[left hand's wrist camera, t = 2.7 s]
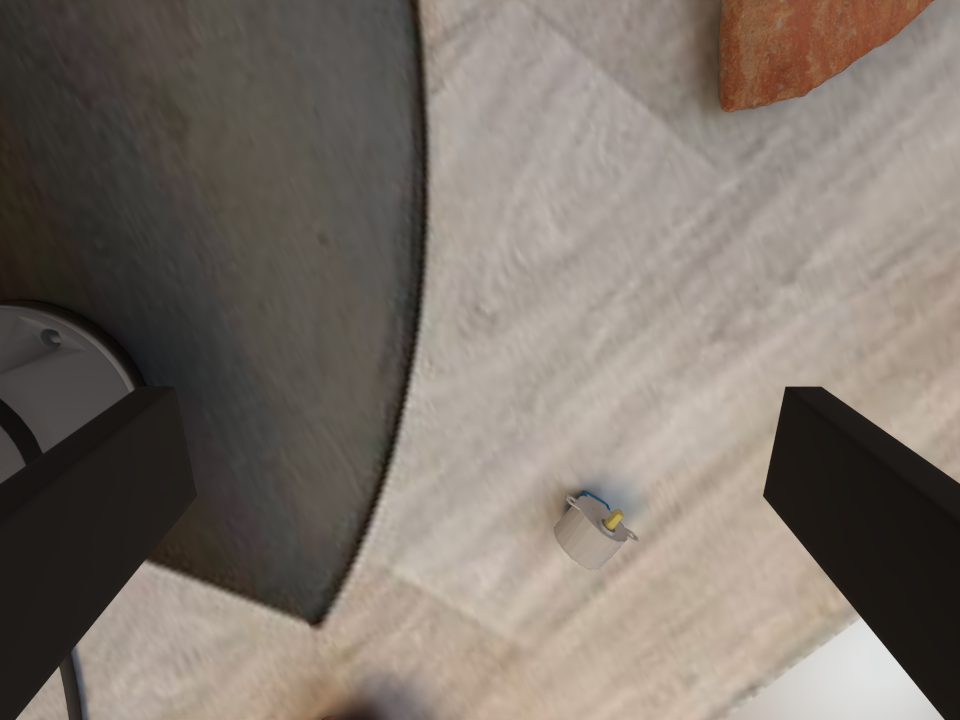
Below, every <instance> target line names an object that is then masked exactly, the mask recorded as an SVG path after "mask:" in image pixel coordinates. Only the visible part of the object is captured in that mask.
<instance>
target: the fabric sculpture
mask: <svg viewBox="0 0 960 720" xmlns="http://www.w3.org/2000/svg"><path fill="white" fill-rule="evenodd" d="M322 720H335V719H334V718H333V717H331V716H329V717H326V718H324V719H322Z"/></svg>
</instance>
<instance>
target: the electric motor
mask: <svg viewBox="0 0 960 720" xmlns="http://www.w3.org/2000/svg"><path fill="white" fill-rule="evenodd" d="M565 498H566V500H567V502H568V503H569V504H570V505H572V506H571V508H570V509H569V510H568V511H567V512H566V514H565V515H564V516H563V517H562V518H561V520H560V521H559V522H558V523H557V524H556V526H555V527H554V533H555V536H556V539H557V541H558V543H559V544H560V546H561V547H562V549H563V550H564V551H565V552H566V553H567V554H568V555H569V556H570V557H571V558H572V559H573V560H574V561H576V562H577V563H578V564H579V565H581V566H583V567H585V568H587V569H590V570H599V569H601V567H602V566H603V565H604V564H605V563H606V562H607V561H608V560H609V559H610V558H611V557H612V556H613V554H614V553H615V552H616V551H617V550H618V549H619V548H620V547H621V546H622V545H623V544H624V542H625V541H626V540H627V538H628V539H629V540H631V541H633V542H638V537H637V536H636V535H635V534H634V533H633V532H632V531H630V530H628V529H626V528H625V527H623V525H622V523H621V522H620V520H621V519H622V518H623V517H624V516H623V514H622V512H621V511H620V510H619V509H616V510H615V511H614V512H613V513H612V512H611V511H610V508H609V506H608V504H607V503H605V502H603V501H602V500H600V499H598V498H597V497H595V496H593V495H592V494H590V493H588V492H587V491H585V492H584V493H583V494H582V495H581V496H580V497H579V498H578V499H575V498H574V497H572V496H570V495H566V497H565ZM570 499H572V500H573V501H574V503H573V502H572V501H571V500H570ZM630 534H631V535H632V536H633V537H634V538H632V537H631V535H630Z"/></svg>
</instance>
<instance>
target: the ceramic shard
mask: <svg viewBox="0 0 960 720" xmlns="http://www.w3.org/2000/svg"><path fill="white" fill-rule="evenodd" d="M932 1H934V0H722V2H721V21H720V27H719V95H718V97H719V102H720V106H721V108H722V110H723V111H724V112H734V111H736V110H744V109H748V108H749V109H755V108H757V107H760V106H767V105H769V104H771V103H774V102H777V101H781V100H786V99H790V98H794V97H802V96H805V95H806V94H807V93H808V92H809V91H810V90H812V89H813V88H816V87H818V86H819V85H821V84H822V83H823V82H825V81H827V80H828V79H830V78H832V77H833V76H835V75H837V74H839V73H840V72H842V71H844V70H845V69H846V68H847V67H848V66H850V65H851V64H852V63H853V62H854V61H856V60H857V59H858V58H860V57H862V56H864V55H865V54H867V53H868V52H869V51H871V50H872V49H873V48H876V47H878V46H881V45H882V44H884V43H886V42H887V41H889V40H890V39H891V38H893V37H894V36H895V35H896V34H898V33H899V32H900V31H901V30H902V29H903V28H904V27H905V26H906V25H907V24H909V23H910V22H911V21H912V20H913V19H914V18H915V17H917V16H918V15H919V14H920V13H921V12H922V11H923V10H924V9H925V8H926V7H927V6H928V5H929V4H930V3H931V2H932Z"/></svg>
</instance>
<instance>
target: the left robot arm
mask: <svg viewBox="0 0 960 720" xmlns="http://www.w3.org/2000/svg"><path fill="white" fill-rule="evenodd" d="M196 497H197V494H196V489H195V484H194V479H193V474H192V469H191V465H190V460H189V455H188V450H187V445H186V440H185V436H184V431H183V426H182V421H181V416H180V411H179V406H178V402H177V397H176V392H175V387H138V388H136V389H135V390H133V391H132V392H130V393H129V394H128V395H126V396H125V397H123V398H122V399H120V400H119V401H118V402H116V403H115V404H113V405H112V406H110V407H109V408H108V409H106V410H105V411H103V412H102V413H100V414H99V415H98V416H96V417H95V418H93V419H92V420H90V421H89V422H88V423H86V424H85V425H83V426H82V427H81V428H79V429H78V430H76V431H75V432H73V433H72V434H71V435H69V436H68V437H66V438H65V439H63V440H62V441H61V442H59V443H58V444H56V445H55V446H53V447H52V448H51V449H49V450H48V451H46V452H45V453H43V454H42V455H41V456H39V457H38V458H36V459H35V460H33V461H32V462H31V463H29V464H28V465H26V466H25V467H23V468H22V469H21V470H19V471H18V472H16V473H15V474H13V475H12V476H11V477H9V478H8V479H6V480H5V481H3V482H2V483H1V484H0V720H15V719H16V718H17V717H18V716H19V715H20V713H21V712H22V711H23V710H24V708H25V707H26V706H27V705H28V703H29V702H30V701H31V700H32V699H33V697H34V696H35V695H36V694H37V692H38V691H39V690H40V689H41V687H42V686H43V685H44V684H45V683H46V681H47V680H48V679H49V678H50V676H51V675H52V674H53V673H54V671H55V670H56V669H57V668H58V667H59V665H60V664H61V663H62V662H63V660H64V659H65V658H66V657H67V655H68V654H69V653H70V652H71V651H72V649H73V648H74V647H75V646H76V644H77V643H78V642H79V641H80V639H81V638H82V637H83V636H84V635H85V633H86V632H87V631H88V630H89V628H90V627H91V626H92V625H93V623H94V622H95V621H96V620H97V619H98V617H99V616H100V615H101V614H102V612H103V611H104V610H105V609H106V607H107V606H108V605H109V604H110V603H111V601H112V600H113V599H114V598H115V596H116V595H117V594H118V593H119V591H120V590H121V589H122V588H123V586H124V585H125V584H126V583H127V582H128V580H129V579H130V578H131V577H132V575H133V574H134V573H135V572H136V570H137V569H138V568H139V567H140V566H141V564H142V563H143V562H144V561H145V559H146V558H147V557H148V556H149V554H150V553H151V552H152V551H153V550H154V548H155V547H156V546H157V545H158V543H159V542H160V541H161V540H162V538H163V537H164V536H165V535H166V534H167V532H168V531H169V530H170V529H171V527H172V526H173V525H174V524H175V522H176V521H177V520H178V519H179V518H180V516H181V515H182V514H183V513H184V511H185V510H186V509H187V508H188V506H189V505H190V504H191V503H192V502H193V500H194V499H195V498H196ZM763 497H764V498H765V499H766V500H767V502H768V503H769V504H770V505H771V506H772V508H773V509H774V510H775V511H776V513H777V514H778V515H779V516H780V518H781V519H782V520H783V521H784V522H785V524H786V525H787V526H788V527H789V529H790V530H791V531H792V532H793V534H794V535H795V536H796V537H797V538H798V540H799V541H800V542H801V543H802V545H803V546H804V547H805V548H806V550H807V551H808V552H809V553H810V554H811V556H812V557H813V558H814V559H815V561H816V562H817V563H818V564H819V566H820V567H821V568H822V569H823V570H824V572H825V573H826V574H827V575H828V577H829V578H830V579H831V580H832V582H833V583H834V584H835V585H836V586H837V588H838V589H839V590H840V591H841V593H842V594H843V595H844V596H845V598H846V599H847V600H848V601H849V603H850V604H851V605H852V606H853V607H854V609H855V610H856V611H857V612H858V614H859V615H860V616H861V617H862V619H863V620H864V621H865V622H866V623H867V625H868V626H869V627H870V628H871V630H872V631H873V632H874V633H875V635H876V636H877V637H878V638H879V639H880V641H881V642H882V643H883V644H884V646H885V647H886V648H887V649H888V651H889V652H890V653H891V654H892V655H893V657H894V658H895V659H896V660H897V662H898V663H899V664H900V665H901V667H902V668H903V669H904V670H905V671H906V673H907V674H908V675H909V676H910V678H911V679H912V680H913V681H914V683H915V684H916V685H917V686H918V687H919V689H920V690H921V691H922V692H923V694H924V695H925V696H926V697H927V699H928V700H929V701H930V702H931V703H932V705H933V706H934V707H935V708H936V710H937V711H938V712H939V713H940V715H941V716H942V717H943V718H944V720H960V484H959V483H958V482H957V481H955V480H954V479H952V478H951V477H949V476H948V475H947V474H945V473H944V472H942V471H941V470H939V469H938V468H937V467H935V466H934V465H932V464H931V463H929V462H928V461H927V460H925V459H924V458H922V457H921V456H919V455H918V454H917V453H915V452H914V451H912V450H911V449H909V448H908V447H907V446H905V445H904V444H902V443H901V442H899V441H898V440H897V439H895V438H894V437H892V436H891V435H889V434H888V433H887V432H885V431H884V430H882V429H881V428H879V427H878V426H877V425H875V424H874V423H872V422H871V421H870V420H868V419H867V418H865V417H864V416H862V415H861V414H860V413H858V412H857V411H855V410H854V409H852V408H851V407H850V406H848V405H847V404H845V403H844V402H842V401H841V400H840V399H838V398H837V397H835V396H834V395H832V394H831V393H830V392H828V391H827V390H825V389H824V388H822V387H785V392H784V397H783V402H782V406H781V411H780V416H779V421H778V426H777V431H776V435H775V440H774V445H773V450H772V455H771V460H770V465H769V469H768V474H767V479H766V484H765V489H764V494H763Z"/></svg>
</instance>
